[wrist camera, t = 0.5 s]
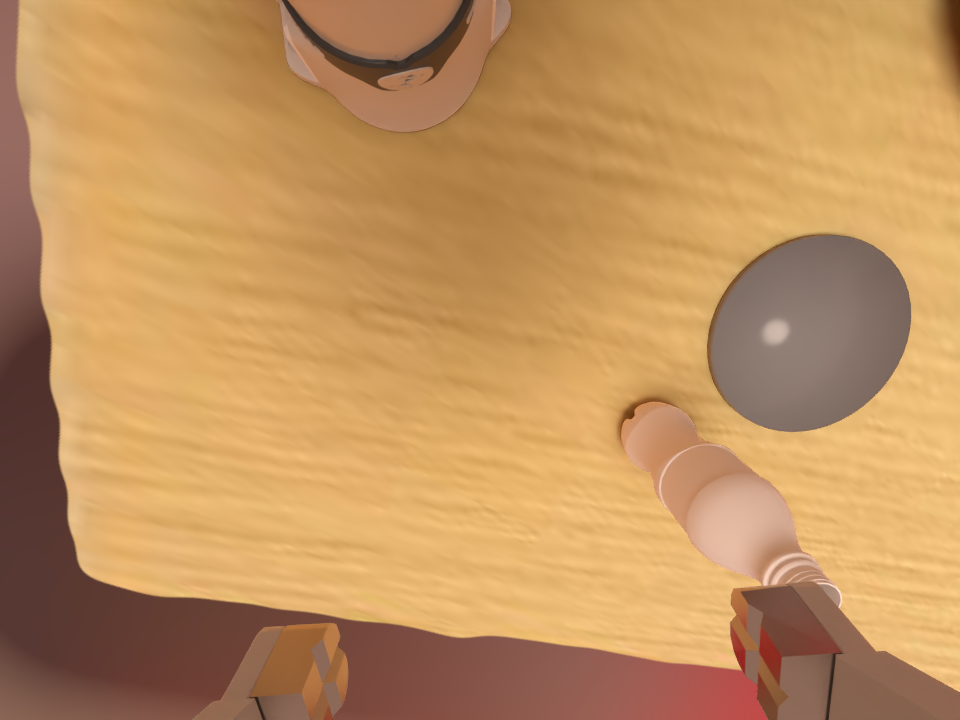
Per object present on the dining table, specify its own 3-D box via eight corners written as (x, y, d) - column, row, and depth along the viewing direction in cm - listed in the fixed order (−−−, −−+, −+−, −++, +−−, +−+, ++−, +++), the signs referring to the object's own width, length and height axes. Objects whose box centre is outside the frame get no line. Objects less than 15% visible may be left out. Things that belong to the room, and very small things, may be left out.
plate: (698, 261, 47) (704, 262, 46) (902, 213, 47) (913, 213, 46) (716, 445, 53) (722, 450, 52) (899, 403, 53) (909, 407, 51)
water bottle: (647, 381, 50) (823, 527, 26) (695, 420, 52) (904, 592, 28) (600, 433, 52) (728, 616, 28) (649, 469, 53) (810, 674, 29)
